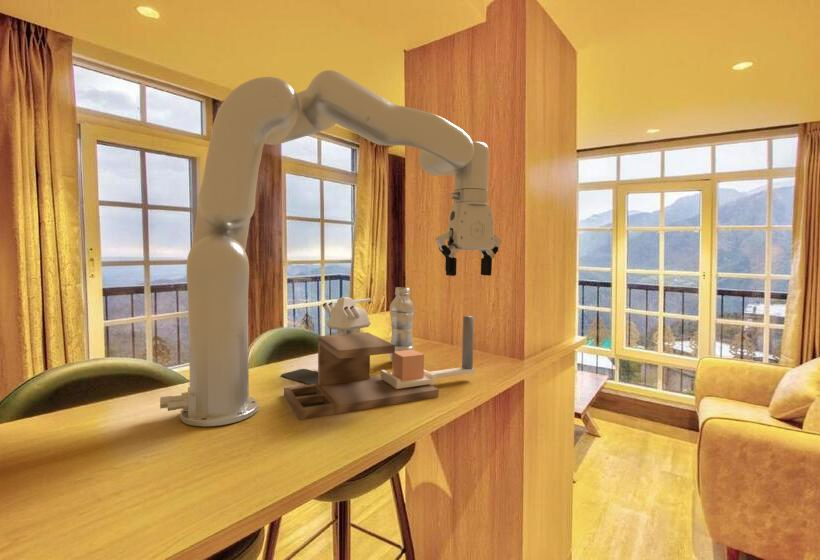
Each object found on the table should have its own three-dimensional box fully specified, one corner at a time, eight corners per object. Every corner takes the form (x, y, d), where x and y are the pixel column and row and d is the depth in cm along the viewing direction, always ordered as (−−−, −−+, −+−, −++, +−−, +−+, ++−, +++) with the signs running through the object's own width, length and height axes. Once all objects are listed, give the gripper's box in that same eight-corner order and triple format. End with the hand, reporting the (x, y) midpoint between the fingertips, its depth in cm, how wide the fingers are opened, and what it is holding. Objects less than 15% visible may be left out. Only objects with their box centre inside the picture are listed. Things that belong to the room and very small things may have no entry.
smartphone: (303, 368, 104) (346, 378, 95) (303, 371, 104) (346, 382, 95) (278, 374, 98) (321, 386, 89) (278, 378, 98) (321, 390, 89)
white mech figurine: (385, 366, 107) (386, 296, 106) (346, 378, 97) (346, 300, 96) (353, 358, 115) (353, 293, 114) (313, 368, 105) (314, 296, 103)
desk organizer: (299, 419, 72) (299, 354, 72) (283, 395, 85) (283, 338, 84) (438, 396, 85) (439, 340, 85) (407, 378, 98) (407, 329, 97)
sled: (396, 389, 84) (397, 324, 83) (380, 378, 91) (381, 319, 90) (481, 376, 94) (483, 318, 93) (461, 367, 101) (462, 313, 100)
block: (402, 380, 86) (402, 356, 86) (392, 374, 91) (392, 351, 91) (423, 377, 89) (423, 354, 88) (412, 371, 93) (412, 349, 93)
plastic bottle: (414, 366, 108) (415, 289, 107) (387, 365, 108) (388, 288, 107) (414, 359, 115) (415, 287, 113) (389, 359, 115) (390, 286, 114)
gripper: (447, 194, 87) (445, 276, 88) (511, 200, 95) (509, 276, 96) (429, 198, 94) (427, 274, 95) (490, 203, 102) (488, 274, 103)
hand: (468, 275), depth 96 cm, fingers open, 9 cm apart
